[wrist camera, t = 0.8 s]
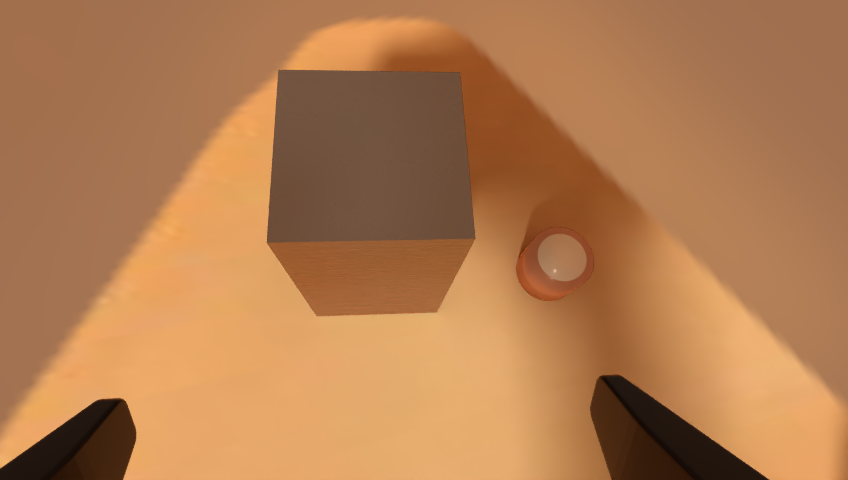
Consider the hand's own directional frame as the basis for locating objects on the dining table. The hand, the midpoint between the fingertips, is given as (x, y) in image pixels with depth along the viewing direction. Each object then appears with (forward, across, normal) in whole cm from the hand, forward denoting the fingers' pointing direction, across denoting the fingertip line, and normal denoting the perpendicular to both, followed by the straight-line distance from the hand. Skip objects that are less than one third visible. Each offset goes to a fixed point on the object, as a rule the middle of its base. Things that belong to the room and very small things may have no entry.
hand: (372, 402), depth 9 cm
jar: (+14, -9, +6) cm, 18 cm away
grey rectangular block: (+15, 0, +5) cm, 16 cm away
